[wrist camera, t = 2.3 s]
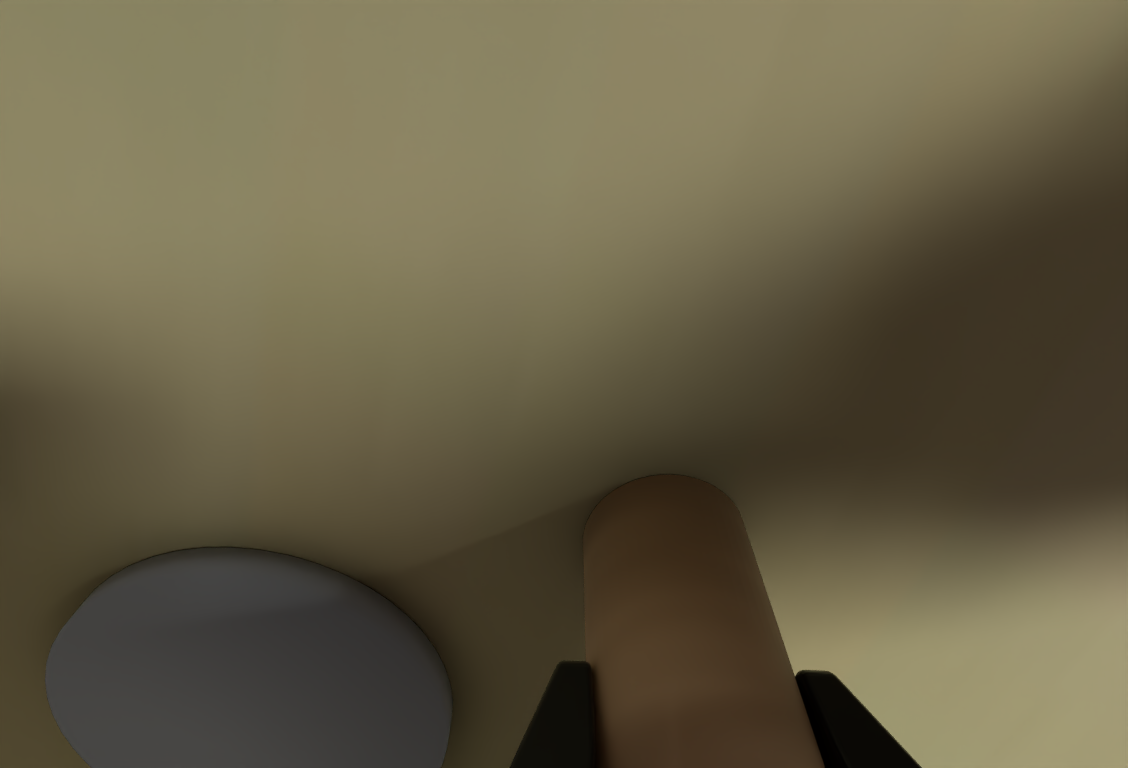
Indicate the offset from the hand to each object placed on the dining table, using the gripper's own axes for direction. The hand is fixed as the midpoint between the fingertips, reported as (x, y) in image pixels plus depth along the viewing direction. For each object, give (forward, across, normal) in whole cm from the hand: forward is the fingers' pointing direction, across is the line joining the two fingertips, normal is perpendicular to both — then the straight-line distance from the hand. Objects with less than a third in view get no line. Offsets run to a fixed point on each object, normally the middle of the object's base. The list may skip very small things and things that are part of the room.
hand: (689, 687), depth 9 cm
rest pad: (+3, +7, +4) cm, 9 cm away
